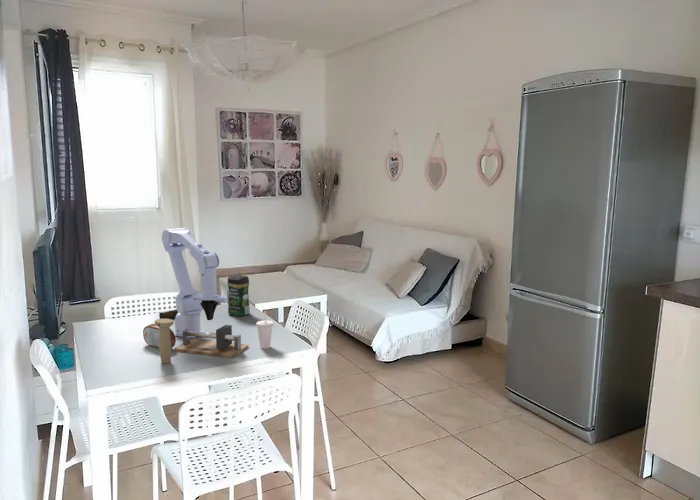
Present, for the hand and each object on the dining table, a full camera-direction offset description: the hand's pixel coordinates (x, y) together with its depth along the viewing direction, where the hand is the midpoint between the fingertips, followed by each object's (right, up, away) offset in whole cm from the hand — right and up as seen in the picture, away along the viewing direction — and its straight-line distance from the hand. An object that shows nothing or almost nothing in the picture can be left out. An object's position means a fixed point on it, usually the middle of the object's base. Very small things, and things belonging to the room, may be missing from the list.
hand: (210, 319), depth 206 cm
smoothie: (+22, -10, -3) cm, 24 cm away
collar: (+7, -9, -7) cm, 14 cm away
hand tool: (-24, -4, +39) cm, 46 cm away
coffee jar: (+2, -3, +42) cm, 42 cm away
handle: (-10, -13, -19) cm, 25 cm away
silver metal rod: (+2, -10, -5) cm, 12 cm away
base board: (+2, -10, -5) cm, 12 cm away
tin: (-18, -10, -4) cm, 21 cm away
